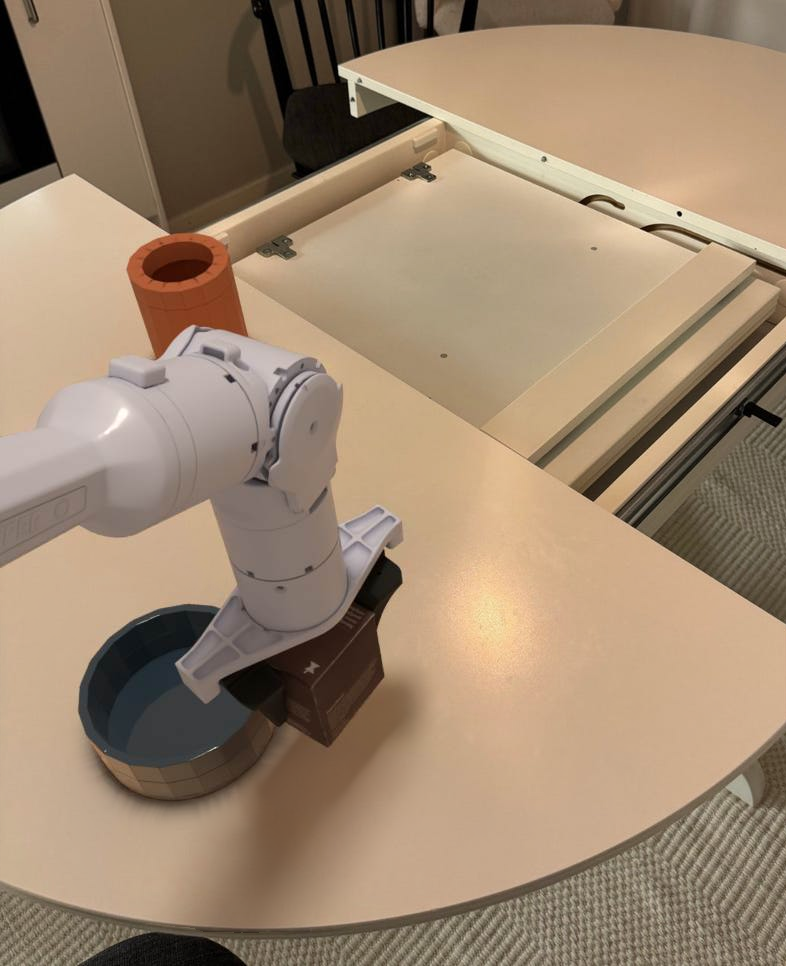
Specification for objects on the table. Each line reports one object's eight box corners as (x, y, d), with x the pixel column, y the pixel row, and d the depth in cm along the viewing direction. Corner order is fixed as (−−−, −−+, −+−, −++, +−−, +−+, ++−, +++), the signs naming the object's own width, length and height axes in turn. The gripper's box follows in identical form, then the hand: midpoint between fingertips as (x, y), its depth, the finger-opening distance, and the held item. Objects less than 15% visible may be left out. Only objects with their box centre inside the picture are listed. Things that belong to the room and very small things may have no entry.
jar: (199, 409, 88) (166, 304, 79) (143, 368, 92) (107, 263, 83) (271, 363, 92) (248, 258, 83) (215, 325, 96) (187, 221, 87)
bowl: (172, 838, 62) (151, 805, 58) (66, 723, 67) (41, 687, 63) (313, 709, 68) (304, 672, 64) (206, 614, 73) (191, 575, 69)
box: (387, 678, 61) (378, 612, 55) (328, 752, 58) (311, 690, 52) (313, 634, 63) (297, 567, 58) (251, 703, 60) (228, 639, 54)
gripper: (334, 424, 54) (358, 569, 64) (115, 580, 47) (180, 715, 57) (424, 486, 51) (434, 628, 61) (204, 663, 44) (256, 790, 54)
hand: (316, 674), depth 59 cm, fingers closed on box, 6 cm apart
